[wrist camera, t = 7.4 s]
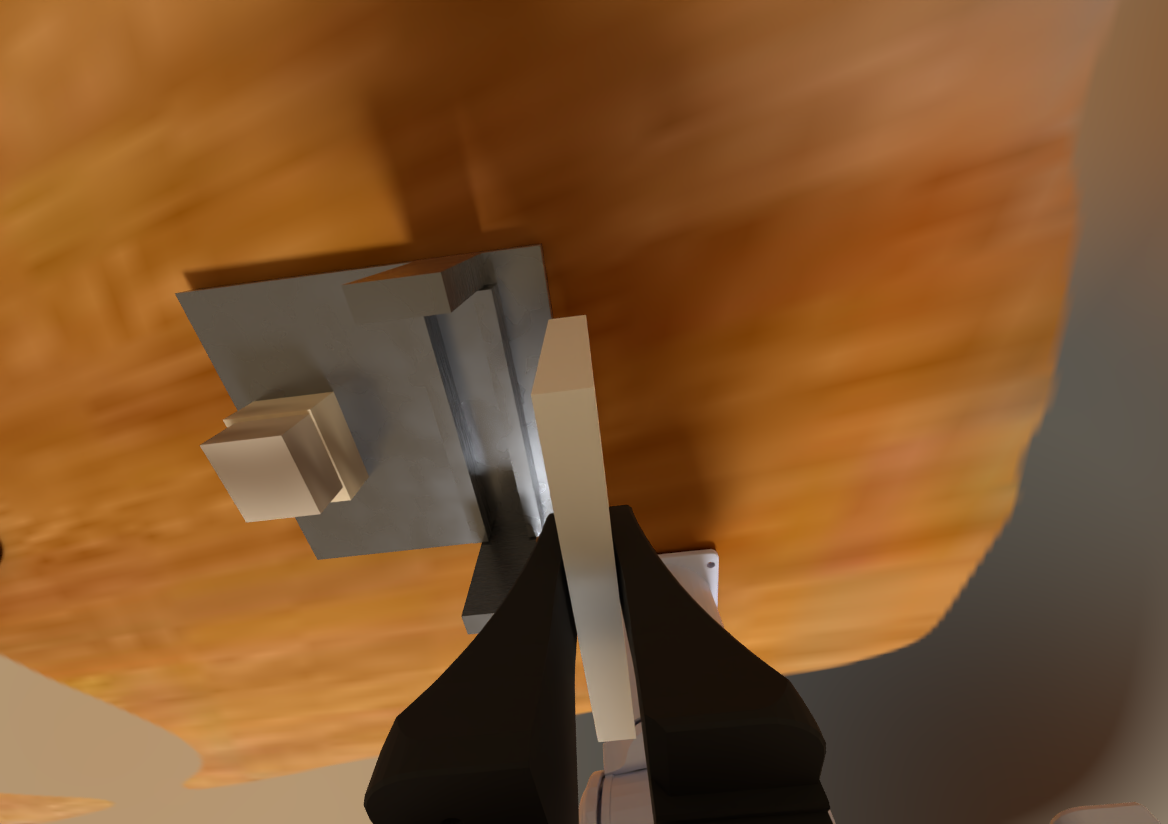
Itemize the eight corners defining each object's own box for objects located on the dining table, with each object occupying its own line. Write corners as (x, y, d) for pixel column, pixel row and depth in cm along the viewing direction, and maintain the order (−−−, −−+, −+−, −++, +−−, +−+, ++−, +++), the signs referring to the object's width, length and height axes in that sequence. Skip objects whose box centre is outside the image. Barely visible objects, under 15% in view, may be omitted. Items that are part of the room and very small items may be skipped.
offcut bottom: (368, 476, 22) (351, 500, 21) (296, 485, 23) (272, 508, 21) (333, 391, 20) (310, 409, 18) (253, 401, 20) (223, 419, 19)
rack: (584, 519, 25) (587, 622, 19) (326, 547, 26) (246, 656, 20) (541, 243, 18) (524, 260, 12) (193, 289, 19) (5, 328, 13)
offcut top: (343, 487, 20) (320, 514, 18) (275, 494, 20) (246, 522, 19) (309, 413, 19) (281, 435, 17) (235, 422, 19) (199, 445, 17)
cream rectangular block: (618, 584, 19) (636, 738, 13) (591, 587, 19) (598, 742, 13) (585, 314, 13) (593, 387, 8) (548, 319, 13) (530, 395, 8)
